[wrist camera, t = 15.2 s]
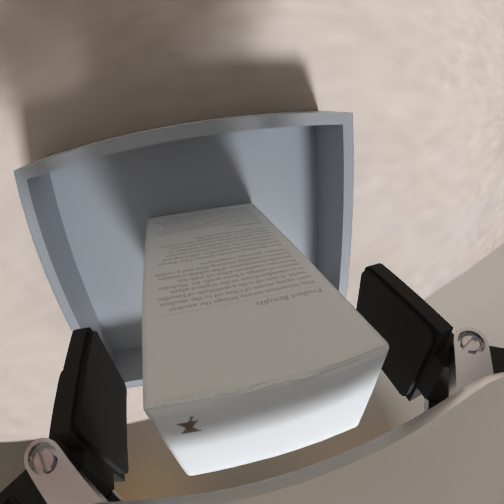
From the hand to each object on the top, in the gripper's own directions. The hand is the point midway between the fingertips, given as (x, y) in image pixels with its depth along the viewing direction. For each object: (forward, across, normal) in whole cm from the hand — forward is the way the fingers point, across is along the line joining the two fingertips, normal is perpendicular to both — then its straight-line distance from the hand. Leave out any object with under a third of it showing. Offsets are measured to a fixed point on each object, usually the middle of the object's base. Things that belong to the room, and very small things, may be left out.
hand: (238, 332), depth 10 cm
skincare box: (+8, 0, +1) cm, 8 cm away
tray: (+9, 0, +1) cm, 9 cm away
